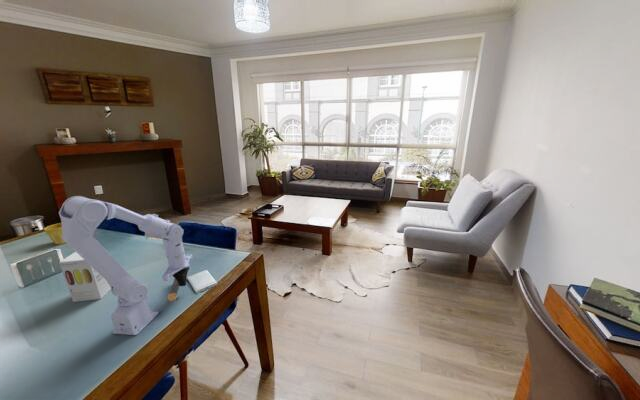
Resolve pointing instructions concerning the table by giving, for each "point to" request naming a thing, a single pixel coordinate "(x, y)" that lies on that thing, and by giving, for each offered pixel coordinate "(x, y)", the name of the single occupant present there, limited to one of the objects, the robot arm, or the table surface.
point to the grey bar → (173, 291)
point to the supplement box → (83, 279)
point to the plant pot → (55, 233)
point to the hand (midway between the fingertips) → (182, 285)
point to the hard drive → (201, 281)
